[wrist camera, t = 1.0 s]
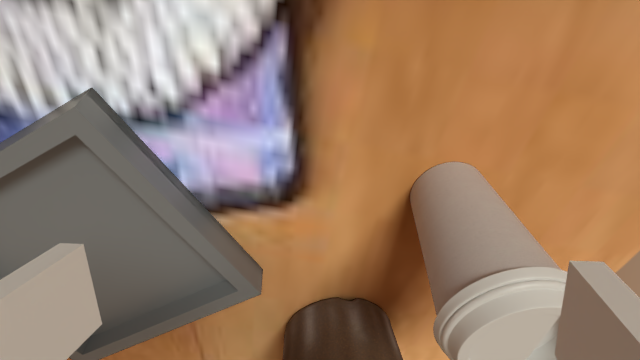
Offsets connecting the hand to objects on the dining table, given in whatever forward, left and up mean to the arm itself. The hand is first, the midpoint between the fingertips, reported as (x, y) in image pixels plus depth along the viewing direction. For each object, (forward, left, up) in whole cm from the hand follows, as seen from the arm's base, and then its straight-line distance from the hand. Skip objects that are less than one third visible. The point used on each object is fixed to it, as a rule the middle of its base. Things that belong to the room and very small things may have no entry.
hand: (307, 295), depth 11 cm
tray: (+7, -25, -21) cm, 33 cm away
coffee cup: (+18, +5, -21) cm, 28 cm away
